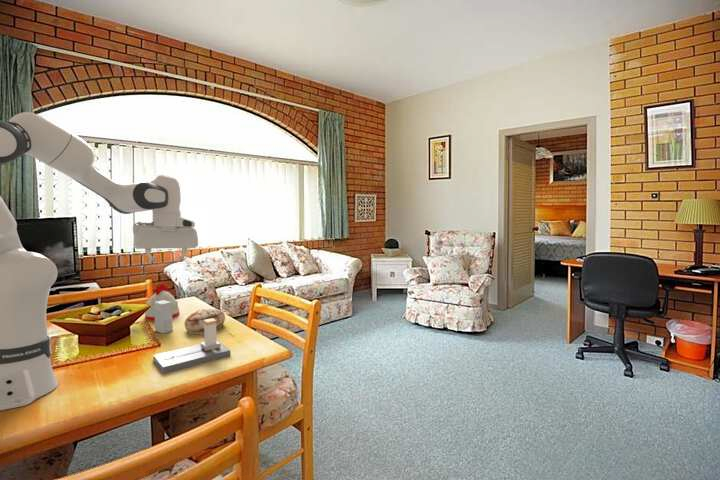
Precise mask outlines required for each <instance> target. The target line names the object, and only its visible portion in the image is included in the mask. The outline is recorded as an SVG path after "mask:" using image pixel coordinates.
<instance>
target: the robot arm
mask: <svg viewBox="0 0 720 480" xmlns="http://www.w3.org/2000/svg"><path fill="white" fill-rule="evenodd" d="M23 155H27V156H30V157H33V158H34V159H36V160H38V161H39V162H42V163H43V164H45V165H47V166H48V167H51V169H54V170H56V171H58V172H60V173H62V174H64V175H66V176H67V177H69V178H71V179H72V180H74V181H76V183H79V184H80V185H81V186H83V187H85V188H86V189H88V190H89V191H91V192H93V193H94V194H96V195H98V196H100V197H101V198H103V199H104V201H106V202H107V203H108V205H110V207H111V208H112V209H113V210H114V211H116V212H118V213H120V214H122V215H130V214H134V213H138V212H140V213H141V212H147V211H152V221H138V222H135V223H134V224H133V226H132V233H133V234H134V237H133V244H132V245H133V248H135V249H137V250H140V249H141V250H143V249H145V254H146V255H147V256H148V262H149V263H155V262H156V256H152V254H151V252H152V249H181V252H182V253H181V255H178V261H179V262H184V261H185V256H186V254H187V253H188V252H189V251H188V249H196V248H197V247H198V246H199V237H198V231H197V230H196V229H195V225H196V223H195V222H194V221H193V220H190V219H186V218H183V217H181V216H182V215H181V214H182V213H181V210H180V206H181V187H180V183H179V181H178V180H177V179H176V178H175V177H173V176H170V175H164V174H158V175H155V176H154V177H152V178H149V179H147V180H143V181H139V182H132V183H127V184H126V183H121V182H120V183H119V182H116V181H114V180H112V179H111V178H109V177H108V176H106V175H105V174H103V173H102V172H101V171H99V170H98V169H96V168H95V166H94V165H93V164H94V161H95V153H94V150H93V148H92V147H91V146H90V145H89V144H88V142H87V141H85V140H84V139H82V138H81V137H79V136H78V135H77V134H74V133H73V132H71V131H70V130H68V129H67V128H65V127H63V126H62V125H59V124H58V123H56V122H54V121H53V120H50V119H47V118H46V117H43V116H42V115H39V114H36V113H34V112H29V111H24V112H19V113H18V114H17V113H16V114H15V115H13V116H12V117H10V119H9V120H8V121H6V120H3V119H2V120H1V119H0V166H5V165H8V164H9V163H12V162H15V161H16V160H17V159H19V158H20V157H22V156H23ZM17 227H18V223H17V221H16V219H15V217H14V216H13V214H12V212H11V211H10V209H9V208H8V206H7V205H6V203H5V201H4V199H3V198H2V196H1V195H0V411H6V410H11V409H15V408H19V407H25V406H27V405H29V404H31V403H33V402H34V401H36V400H37V399H39V398H41V397H42V396H44V395H45V396H46V395H47V394H49V393H51V392H52V391H54V390H55V389H56V388H57V387H58V385H59V381H58V380H57V378H56V375H55V372H54V370H53V366H52V363H51V362H52V361H51V356H52V355H51V354H52V346H51V345H52V344H51V340H50V336H49V335H48V328H47V327H48V326H47V306H48V301H49V300H48V299H49V295H50V291H51V287H52V286H53V285H54V284H55V283H56V280H57V279H58V273H59V272H58V267H57V265H56V264H55V262H53V260H52V259H50V258H48V257H46V256H45V255H43V254H42V253H38V252H34V251H28V250H26V249H25V248H24V247H23V245H22V242H21V240H20V236H19V234H18V230H17Z"/></svg>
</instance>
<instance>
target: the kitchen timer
mask: <svg viewBox="0 0 720 480" xmlns="http://www.w3.org/2000/svg"><path fill="white" fill-rule="evenodd" d="M168 290H169V287H168V286H167V285H166V284H164V283H161V284H159V285H156V287H155V288H153V291H154V294H153V295H151V296H150V298H149V300H147V301H146V303H145V306H146V305H151V307H150V308H149V309H148V310H147V311H146V312H145V311H144V319H145V320H147V321H152V322H155V316H154V302H157V301H162V300H165V301H169V302H172V319H175V318H177V317H179V316H180V308H179V307H180V306H179V305H178V301H177V300H176V298H175V297H174V295H172V294H171V292H168Z"/></svg>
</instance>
